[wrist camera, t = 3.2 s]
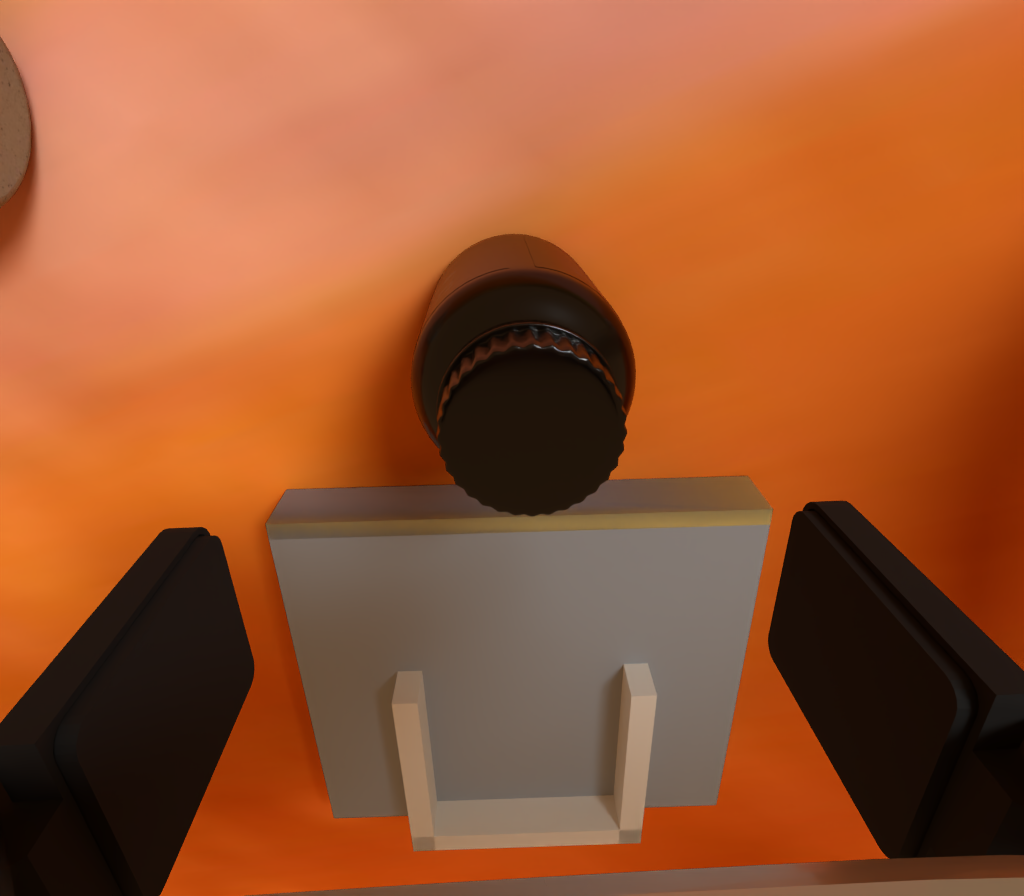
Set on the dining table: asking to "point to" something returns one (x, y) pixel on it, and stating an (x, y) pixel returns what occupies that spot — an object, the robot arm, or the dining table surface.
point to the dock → (521, 653)
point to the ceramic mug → (12, 127)
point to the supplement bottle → (523, 376)
